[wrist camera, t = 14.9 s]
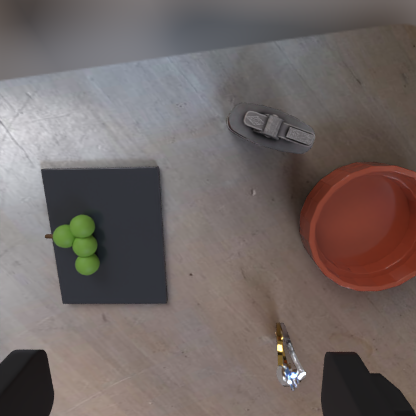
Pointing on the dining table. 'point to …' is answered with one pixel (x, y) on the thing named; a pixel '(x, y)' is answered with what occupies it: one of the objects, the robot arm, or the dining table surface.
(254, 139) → the lighter
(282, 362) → the ring
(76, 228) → the grapes
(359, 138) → the dining table surface
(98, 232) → the slate board
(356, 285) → the bowl
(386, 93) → the dining table surface
